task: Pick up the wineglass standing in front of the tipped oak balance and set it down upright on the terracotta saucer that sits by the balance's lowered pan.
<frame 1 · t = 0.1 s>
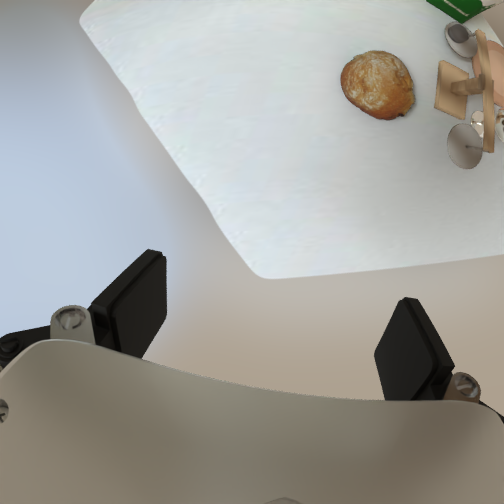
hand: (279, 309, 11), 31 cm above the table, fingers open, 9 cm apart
dish: (497, 74, 25), on the table
milk carton: (445, 0, 22), on the table
balance: (450, 90, 29), on the table
wineglass: (479, 124, 30), on the table
bread roll: (376, 87, 32), on the table
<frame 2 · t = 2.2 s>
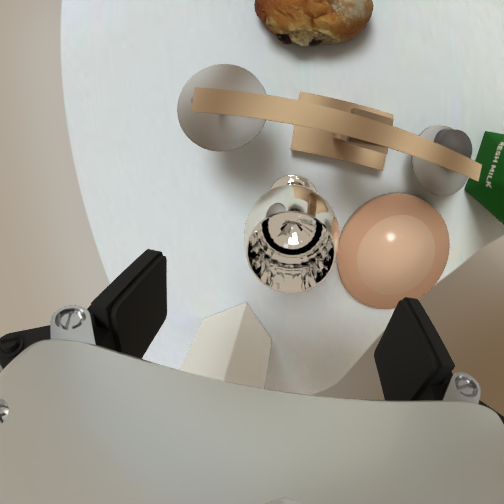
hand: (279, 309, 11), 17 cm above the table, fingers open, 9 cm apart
dish: (394, 251, 26), on the table
milk carton: (494, 175, 21), on the table
milk: (237, 328, 33), on the table
balance: (340, 130, 22), on the table
wineglass: (293, 198, 26), on the table
bread roll: (311, 7, 18), on the table
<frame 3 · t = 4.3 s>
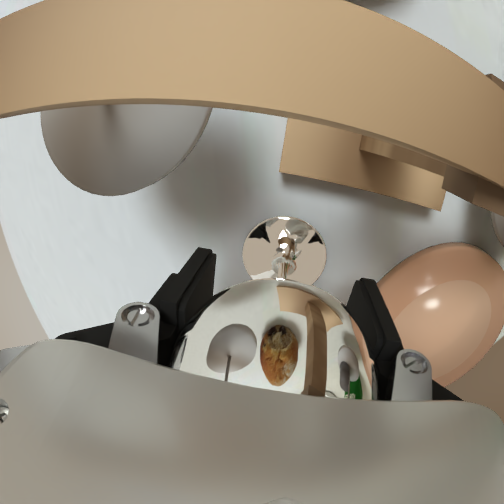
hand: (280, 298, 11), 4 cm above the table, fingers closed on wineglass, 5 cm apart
dish: (434, 326, 16), on the table
balance: (370, 135, 12), on the table
wineglass: (284, 255, 15), on the table, touching gripper
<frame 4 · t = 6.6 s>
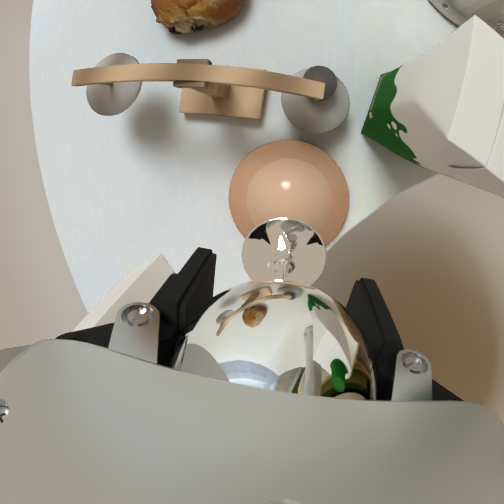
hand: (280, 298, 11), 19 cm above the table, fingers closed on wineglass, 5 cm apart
dish: (289, 198, 29), on the table
milk carton: (400, 117, 24), on the table
milk: (158, 280, 35), on the table
balance: (224, 92, 25), on the table
wineglass: (284, 255, 15), point 15 cm above the table, touching gripper
bread roll: (202, 0, 21), on the table
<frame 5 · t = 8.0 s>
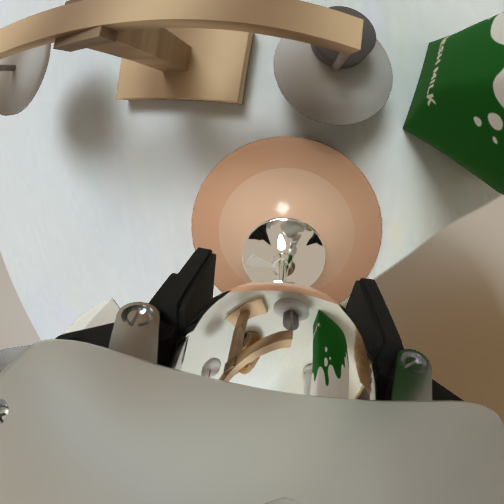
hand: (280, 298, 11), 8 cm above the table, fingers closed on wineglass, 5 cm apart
dish: (287, 230, 18), on the table
milk carton: (456, 109, 13), on the table
milk: (114, 329, 25), on the table
balance: (185, 63, 15), on the table
wineglass: (284, 256, 15), point 4 cm above the table, touching gripper
when the fingers open (6 cm above the table, at t = 9.2 s): wineglass stays where it is, resting on dish.
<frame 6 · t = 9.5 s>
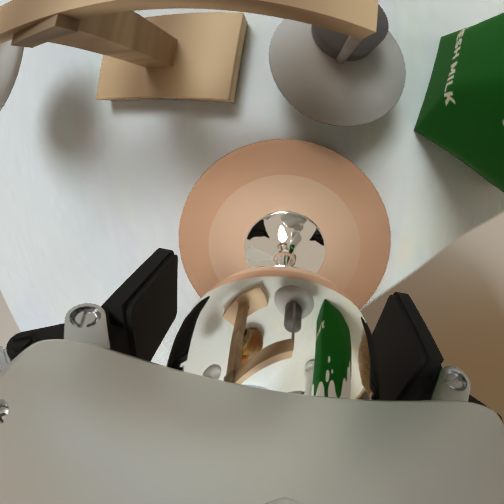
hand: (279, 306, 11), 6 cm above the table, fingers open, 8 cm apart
dish: (284, 243, 17), on the table
milk carton: (471, 110, 12), on the table
balance: (172, 59, 13), on the table
wineglass: (285, 248, 16), point 1 cm above the table, touching dish
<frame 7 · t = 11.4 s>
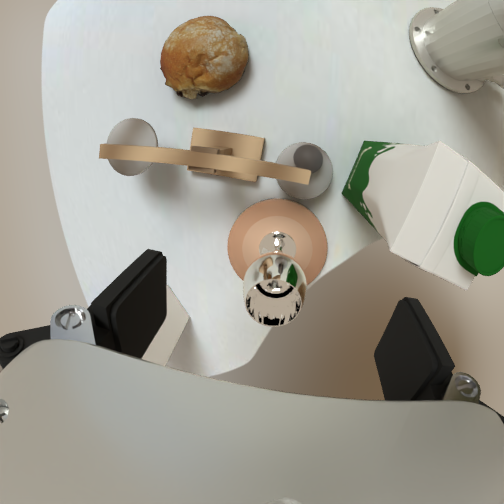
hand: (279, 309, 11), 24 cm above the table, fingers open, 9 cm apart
dish: (277, 246, 35), on the table
milk carton: (377, 179, 31), on the table
milk: (164, 306, 41), on the table
balance: (226, 153, 32), on the table
wineglass: (277, 248, 34), point 1 cm above the table, touching dish
bread roll: (207, 61, 28), on the table
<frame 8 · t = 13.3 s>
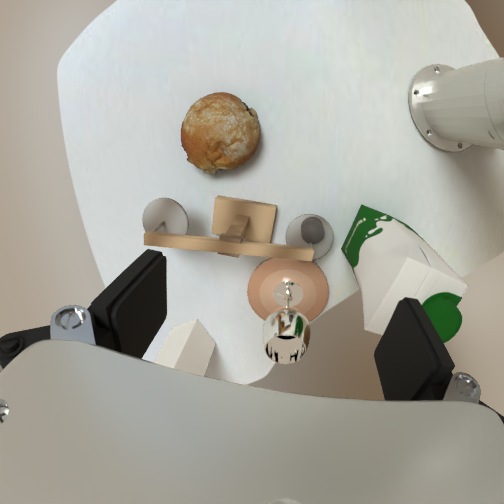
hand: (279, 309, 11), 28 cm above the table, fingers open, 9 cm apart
dish: (288, 290, 43), on the table
milk carton: (372, 235, 38), on the table
milk: (194, 334, 49), on the table
balance: (244, 217, 39), on the table
wineglass: (288, 293, 42), point 1 cm above the table, touching dish
bread roll: (222, 134, 35), on the table
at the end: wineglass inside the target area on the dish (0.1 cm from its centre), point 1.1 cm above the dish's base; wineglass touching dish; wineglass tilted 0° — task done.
